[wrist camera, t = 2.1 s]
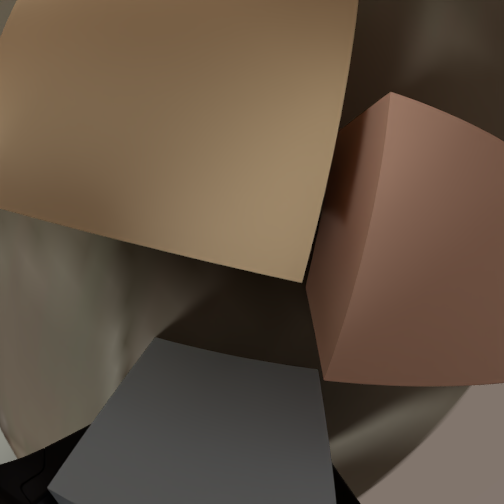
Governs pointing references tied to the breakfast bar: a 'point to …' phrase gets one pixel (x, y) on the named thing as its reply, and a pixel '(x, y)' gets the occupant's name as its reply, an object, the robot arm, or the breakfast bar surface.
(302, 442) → the blue brick
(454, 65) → the breakfast bar surface
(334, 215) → the cube
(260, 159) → the base brick
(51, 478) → the robot arm
